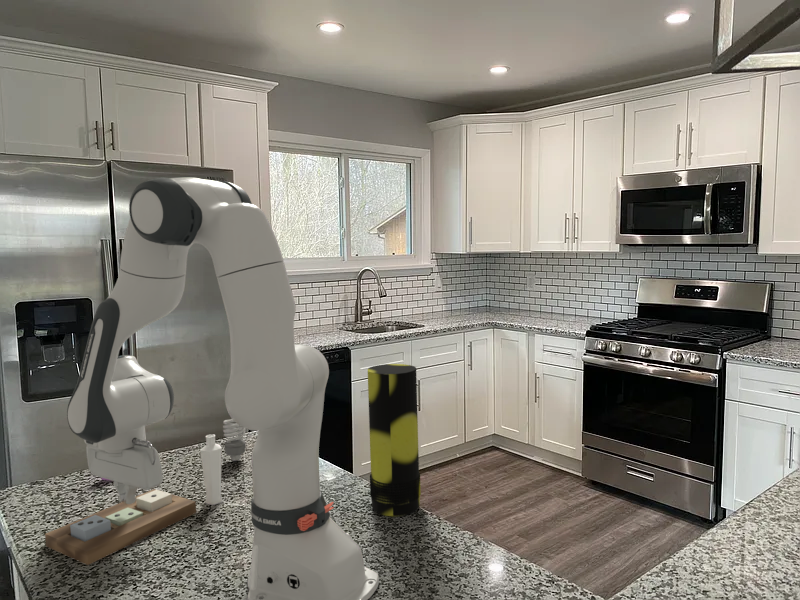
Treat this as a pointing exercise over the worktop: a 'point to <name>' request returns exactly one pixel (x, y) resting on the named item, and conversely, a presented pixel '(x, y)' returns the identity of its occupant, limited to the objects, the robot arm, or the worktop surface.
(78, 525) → the tile
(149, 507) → the tile
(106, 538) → the dice board
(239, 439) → the light bulb
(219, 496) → the white faceted bottle
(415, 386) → the container
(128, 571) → the worktop surface
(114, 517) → the tile
